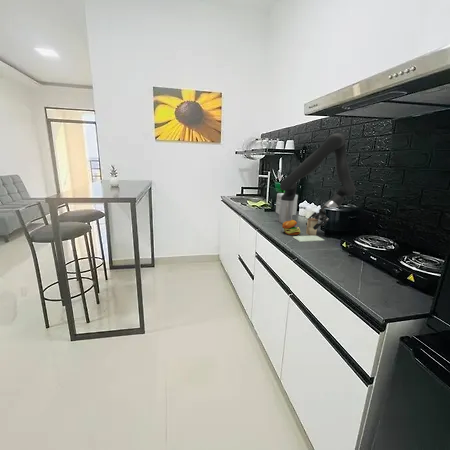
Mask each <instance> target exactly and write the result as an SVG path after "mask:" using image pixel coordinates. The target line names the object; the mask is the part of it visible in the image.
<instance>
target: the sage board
mask: <svg viewBox="0 0 450 450" xmlns="http://www.w3.org/2000/svg"><path fill="white" fill-rule="evenodd" d="M292 238H293V239H295V240H296V241H298V242H299V243H310V242H312V243H313V242H325V239H324V238H323V237H320V236H318V235H317V234H316V235H299V236H298V235H292Z"/></svg>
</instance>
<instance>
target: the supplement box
mask: <svg viewBox="0 0 450 450" xmlns="http://www.w3.org/2000/svg"><path fill="white" fill-rule="evenodd" d="M284 193H285V192H282V193H281V192H278V193H276V201H275V202H276V204H275V205H276V206H275V213H276V214H278V215H279V210H280V208H281V197H282V195H283V194H284ZM298 198H299V194H296V195H295V198H294V205H293V216H296V215H297V209H298Z"/></svg>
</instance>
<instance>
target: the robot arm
mask: <svg viewBox="0 0 450 450" xmlns="http://www.w3.org/2000/svg"><path fill="white" fill-rule="evenodd" d="M333 152H334V155H335V169H336V176H337V180H338V182H339V183H341V184H342V186H339V187H338V189H337V191H336V192H335V193H334V194H333V196H332V197H331V198H330V199H329V200H328V201H326V202H325V203H324V204H323V206H322V207H320V208H319V209H318V212H313V213H312V214H311V215H310V216H309V217H308V218H315V219H317V220H318V224H316V225H315V226H314V227H313V228H314V230H316V229H317V230H318V229H319V228H320V227H324V226H325V225H326V224H327V223H328V222H329V220H330V217H329V218H328V217H327V216H326V213H325V212H324V208H330V207H338V208H339V207H340V206H341V205H342V204H343V203H344V201H345V200H344V199H345V197H352V196H354V195H355V193H356V191H357V190H356V186H355V184H354V181H353V179H352V177H351V173H350V167H349V165H348V159H347V149H346V137H345V135H344V134H343V133H340V132H337V133H333V134H331V135H329V136H328V137H327V138H326V139H325V140H324V142H323V143H322V144H321V145H320V146H319V147H318V149H316V150H314V151H313V152H312V153H311V154H310V155H309V156H307V158H305V159H304V160H303V161H302V163H300V164H299V165H298V166H297V167H295V169H294V170H293V171H292V172H291V173H290V174H288V175H287V176H286V177H284V178H283V179H282V180H281V181H280V184H279V186H280V190H282V191H284V192H283V193H284V194H283V195H282V197H281V208H280V210H279V214H278V222H279V223H280V224H283V223H284V222H286V221H291V220H293V216H294V215H293V205H294V198H295V195H297V188H298V181H300V180H301V179H303V178H305V177H307V176H308V175H310V174H311V173H313V172H314V171H316V169H317V168H319V166H320V165H321V164H322V163H323V161H324V160H325V159H326V158H327V157H328V156H329V155H331V154H332V153H333ZM305 225H306V226H307V222H306V223H305Z"/></svg>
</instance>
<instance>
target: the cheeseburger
mask: <svg viewBox="0 0 450 450" xmlns="http://www.w3.org/2000/svg"><path fill="white" fill-rule="evenodd" d="M297 224H298V222H297V221H296V220H295V219H292V220H291V221H286V222H284V223H282V229H283V231H284V233H285V234H286V235H288V236H298V235H300V234H301V229H300V227H299V226H298V225H297Z"/></svg>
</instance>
